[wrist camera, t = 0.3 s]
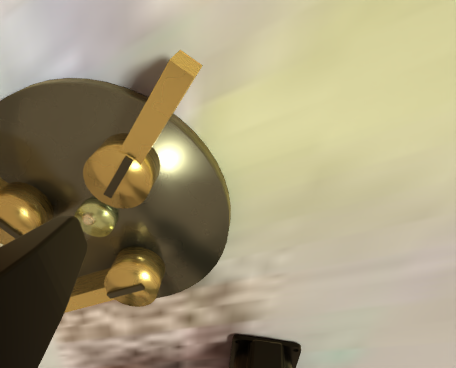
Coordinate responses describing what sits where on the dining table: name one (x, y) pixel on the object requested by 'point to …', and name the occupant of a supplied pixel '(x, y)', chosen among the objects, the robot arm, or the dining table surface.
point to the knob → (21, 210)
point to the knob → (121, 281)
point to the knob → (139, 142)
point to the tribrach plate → (100, 212)
